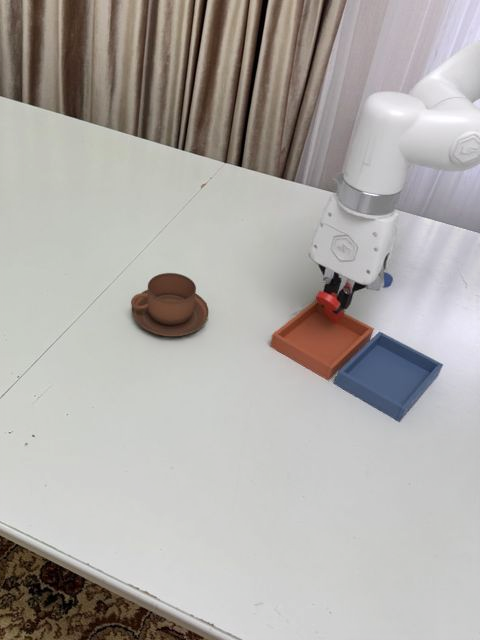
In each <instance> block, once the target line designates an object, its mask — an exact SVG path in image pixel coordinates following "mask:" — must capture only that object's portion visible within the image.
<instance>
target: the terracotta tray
mask: <svg viewBox="0 0 480 640" xmlns="http://www.w3.org/2000/svg"><path fill="white" fill-rule="evenodd" d="M374 330H375V328H374V327H371V326H370V325H368V324H367V323H364V322H363V321H360V320H358V319H357V318H354V317H352V316H351V315H348V314H347V313H346V312H345V313H344V314H343V316H342V317H341V319H340V320H339V322H338V323H337V324H335V323H333V322H331V321H330V320H329V318H328V315H327V313H326V310H325V308H323V307H322V304H321V303H319V302H318V301H317V300H316V299H315V300H314V301H312V302H311V303H310V304H308V305H307V306H306V307H305V308H304V309H302V310H301V311H300V312H298V313H297V314H295V315H294V317H292V318H291V319H290V320H289V321H287V322H286V323H285V324H283V325H282V326H281V327H279V328H278V329H277V330H276V331H275V332H274V333H272V335H271V340H270V344H269V347H270V348H272V349H273V350H275V351H277V352H279V353H281V354H282V355H283V356H285V357H287V358H289V359H290V360H292V361H294V362H296V363H297V364H299V365H301V366H302V367H305V368H306V369H308V370H309V371H311V372H313V373H315V374H316V375H318V376H319V377H322V378H324V379H325V380H327V381H330V380H331V379H332V378H333V377H334V376H335V375H337V373H338V371H339V370H340V369H341V368H342V367H343V366H344V365H345V364H346V363H347V362H348V361H349V360H350V359H351V358H353V357H354V356H355V355H356V354H357V353H358V352H359V351H360V350H361V349H362V348H363V347H364V346H365V345H366V344H367V343H368V342H369V341H370V340H371V339H372V336H373V333H374Z"/></svg>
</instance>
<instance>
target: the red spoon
mask: <svg viewBox="0 0 480 640" xmlns="http://www.w3.org/2000/svg"><path fill="white" fill-rule="evenodd" d="M337 296H338V294H336V293H334V292H332V294H331V295H330V294H328V293H326V292H323V290H319V291H317V293H316V295H315V296H314V298H315V300H317V301H318V302H319V303H321V304H322V305H323V306H324V308H325V310H326V313H327V315H328V318H329V320H330V321H331V322H333V323H335V324H337V323H338V322H339V320H340V319H341V317H342V316H343V314H344V313H345V314H346V310H345V309H343V310H342V311H340V312H339V313H338V314H335V313H334V312H333V310H334V311H336V310H337V309H338V308H339V306H340V302H339V301H338V300H337Z"/></svg>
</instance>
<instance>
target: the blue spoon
mask: <svg viewBox="0 0 480 640" xmlns="http://www.w3.org/2000/svg"><path fill="white" fill-rule="evenodd" d="M368 272H369V271H368ZM393 282H394V277H393V275H391V274H390V273H389V272H386V271H384V286H383V287H382V289H383V288H384V289H385V288H389V287H391V286H392V285H393Z"/></svg>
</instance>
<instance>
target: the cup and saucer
mask: <svg viewBox="0 0 480 640" xmlns="http://www.w3.org/2000/svg"><path fill="white" fill-rule="evenodd" d="M130 304H131V313H132V316H133V318H134V320H135V322H136V323H137V324H138V325H139V326H140V327H141V328H143V329H145V330H146V331H148V332H150V333H153V334H155V335H159V336H164V337H180V336H185V335H190V334H192V333H194V332H196V331H198V330H199V329H201V328H202V327H203V326H204V324H205V323H206V322H207V320H208V317H209V313H210V312H209V306H208V304H207V303H206V301H205V299H203V298H202V297H201V296H200V295H199V294H197V286H196V283H195V282H194V280H193V279H191V278H190V277H188V276H187V275H184V274H181V273H176V272H165V273H159V274H157V275H155V276H153V277H152V278H150V279H149V281H148V282H147V289H145V290H144V291H142V292H140V293H137V294H134V295H133V297H132V298H131V300H130Z"/></svg>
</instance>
